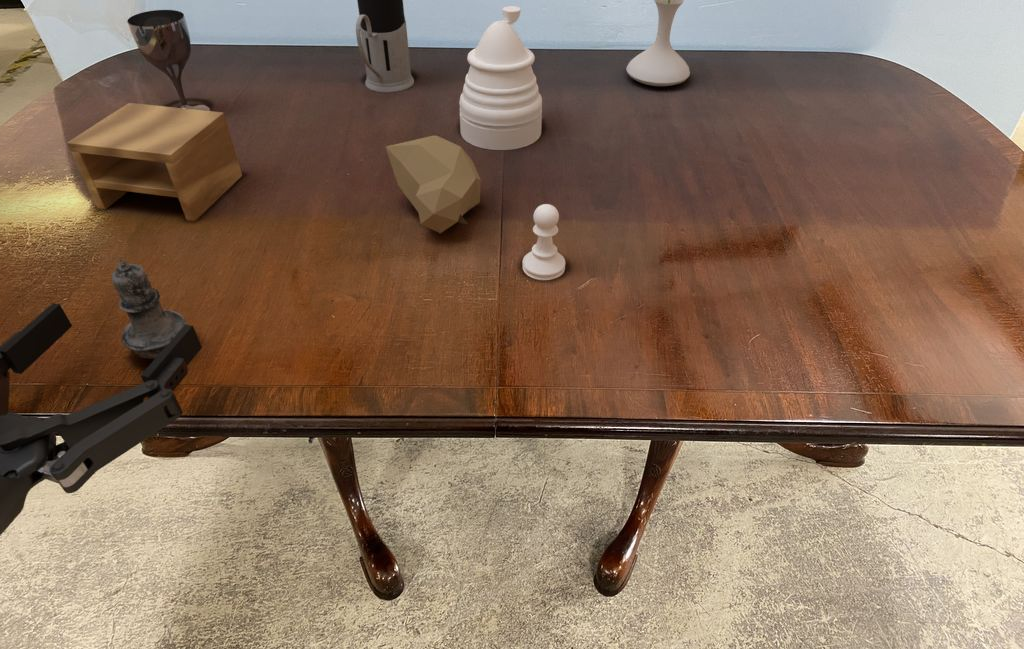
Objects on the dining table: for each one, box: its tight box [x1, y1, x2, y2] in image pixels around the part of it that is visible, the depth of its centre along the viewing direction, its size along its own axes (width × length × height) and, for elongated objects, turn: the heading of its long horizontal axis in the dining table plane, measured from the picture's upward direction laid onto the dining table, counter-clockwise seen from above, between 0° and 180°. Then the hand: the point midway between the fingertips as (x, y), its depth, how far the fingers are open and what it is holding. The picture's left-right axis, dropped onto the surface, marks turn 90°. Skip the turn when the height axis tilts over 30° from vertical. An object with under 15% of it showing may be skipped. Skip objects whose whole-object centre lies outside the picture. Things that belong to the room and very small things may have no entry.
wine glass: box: [126, 9, 211, 111], centre depth 105 cm, size 8×8×15 cm
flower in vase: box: [625, 0, 691, 87], centre depth 113 cm, size 13×11×25 cm
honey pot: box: [458, 5, 543, 151], centre depth 100 cm, size 13×13×18 cm
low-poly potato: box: [385, 134, 482, 234], centre depth 84 cm, size 15×11×12 cm
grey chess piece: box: [110, 259, 187, 360], centre depth 64 cm, size 6×6×12 cm
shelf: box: [66, 102, 243, 222], centre depth 87 cm, size 14×12×10 cm
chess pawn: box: [521, 203, 567, 281], centre depth 75 cm, size 5×5×9 cm
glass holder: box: [355, 0, 415, 93], centre depth 113 cm, size 9×14×15 cm, turn 166°
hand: (127, 324), depth 62 cm, fingers open, 13 cm apart
